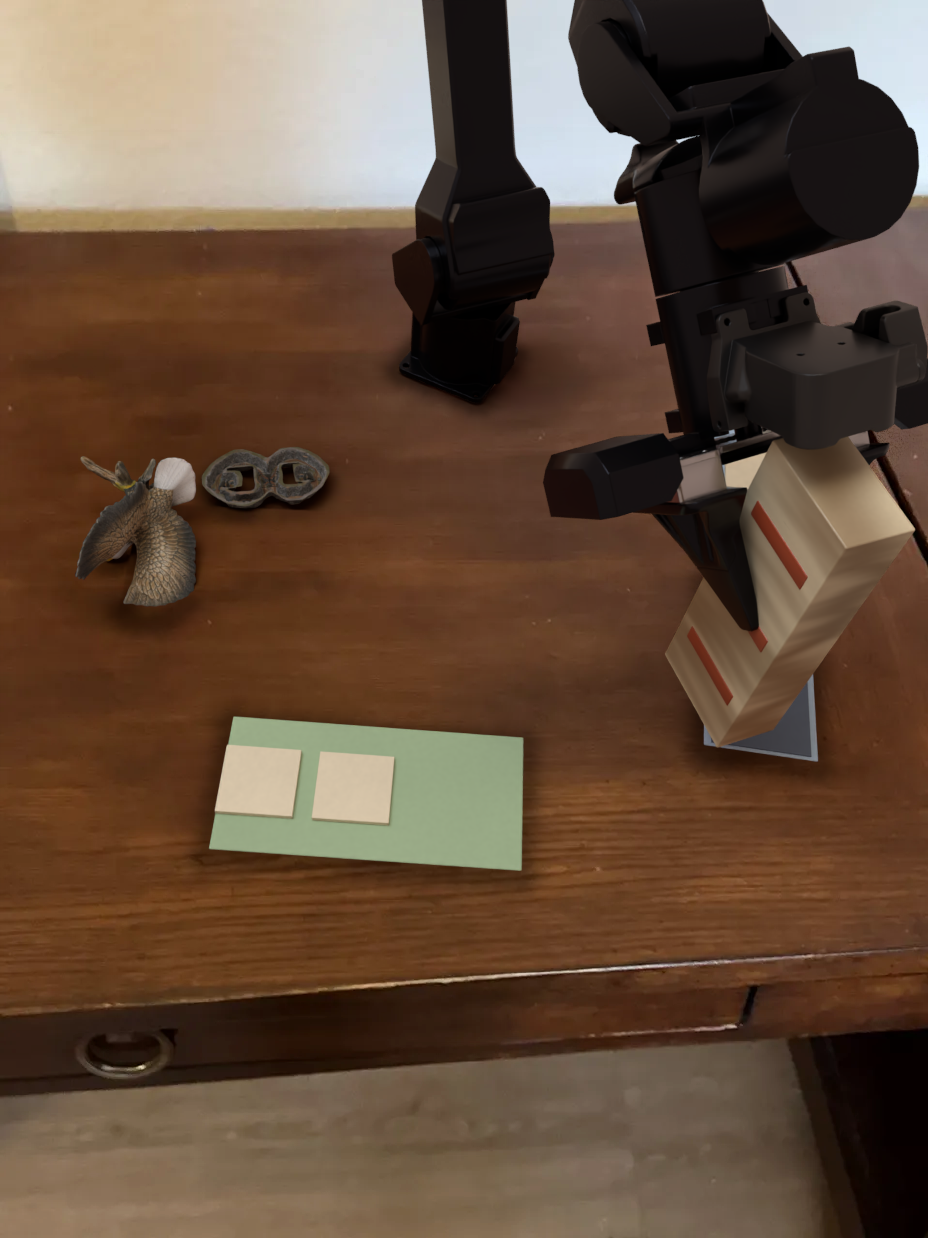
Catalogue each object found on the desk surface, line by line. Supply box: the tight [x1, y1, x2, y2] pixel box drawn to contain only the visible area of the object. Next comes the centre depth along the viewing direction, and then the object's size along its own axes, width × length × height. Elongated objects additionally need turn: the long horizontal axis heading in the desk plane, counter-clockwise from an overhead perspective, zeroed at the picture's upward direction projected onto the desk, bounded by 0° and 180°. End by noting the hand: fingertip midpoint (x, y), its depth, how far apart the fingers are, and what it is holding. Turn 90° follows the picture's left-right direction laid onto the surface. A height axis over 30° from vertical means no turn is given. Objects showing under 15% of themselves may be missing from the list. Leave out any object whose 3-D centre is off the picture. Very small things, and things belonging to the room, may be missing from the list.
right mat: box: [703, 430, 819, 763], centre depth 79 cm, size 37×6×1 cm, turn 173°
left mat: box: [208, 716, 525, 872], centre depth 64 cm, size 16×8×1 cm, turn 88°
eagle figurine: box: [74, 455, 197, 607], centre depth 71 cm, size 8×7×9 cm
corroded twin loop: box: [201, 446, 331, 509], centre depth 77 cm, size 5×8×1 cm, turn 100°
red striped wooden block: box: [664, 437, 916, 748], centre depth 57 cm, size 4×6×17 cm, turn 22°
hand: (784, 617), depth 57 cm, fingers closed on red striped wooden block, 3 cm apart
